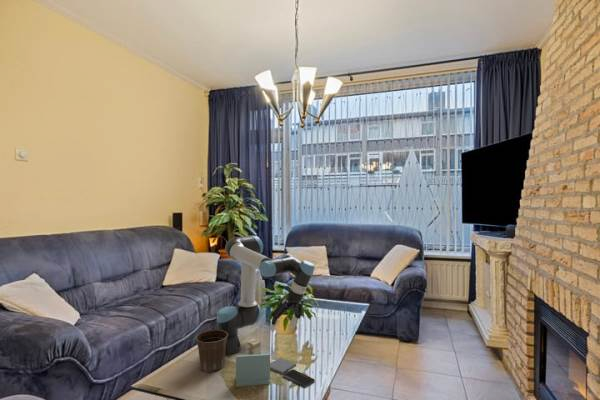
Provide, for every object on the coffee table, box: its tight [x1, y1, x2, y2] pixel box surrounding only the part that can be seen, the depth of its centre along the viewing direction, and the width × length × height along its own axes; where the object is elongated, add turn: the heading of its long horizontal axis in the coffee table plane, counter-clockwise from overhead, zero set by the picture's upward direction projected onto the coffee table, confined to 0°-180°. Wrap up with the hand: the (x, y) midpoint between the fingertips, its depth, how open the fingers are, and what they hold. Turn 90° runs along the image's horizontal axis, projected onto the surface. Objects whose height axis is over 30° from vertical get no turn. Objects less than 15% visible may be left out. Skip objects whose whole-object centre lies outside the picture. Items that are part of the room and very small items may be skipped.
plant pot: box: [195, 329, 228, 373], centre depth 178 cm, size 16×16×16 cm
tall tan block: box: [246, 338, 261, 355], centre depth 176 cm, size 5×5×14 cm
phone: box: [282, 368, 316, 389], centre depth 166 cm, size 8×1×15 cm
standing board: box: [235, 353, 271, 387], centre depth 163 cm, size 5×16×13 cm, turn 97°
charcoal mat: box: [270, 357, 297, 375], centre depth 178 cm, size 11×11×1 cm
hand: (281, 329), depth 172 cm, fingers open, 13 cm apart
